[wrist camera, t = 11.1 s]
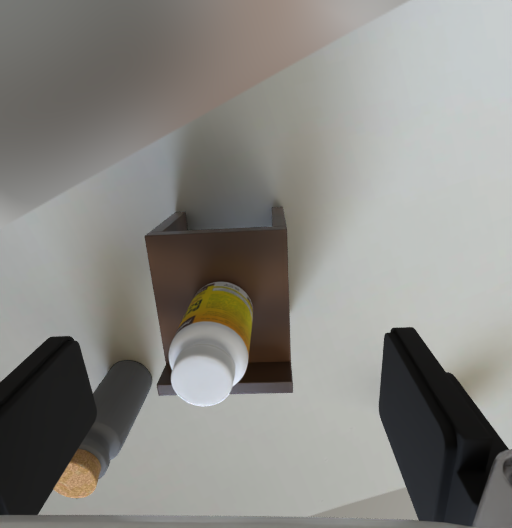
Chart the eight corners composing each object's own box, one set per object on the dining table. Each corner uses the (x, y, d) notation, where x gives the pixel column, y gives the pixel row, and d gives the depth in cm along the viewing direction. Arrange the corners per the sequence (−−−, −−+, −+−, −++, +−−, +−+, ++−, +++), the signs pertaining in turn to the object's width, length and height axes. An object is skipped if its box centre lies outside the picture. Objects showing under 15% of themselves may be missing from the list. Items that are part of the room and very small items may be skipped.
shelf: (175, 212, 39) (130, 245, 27) (282, 206, 39) (288, 239, 26) (190, 323, 44) (158, 395, 32) (286, 320, 43) (292, 393, 31)
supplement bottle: (205, 269, 30) (175, 329, 21) (263, 294, 31) (260, 364, 21) (183, 320, 32) (145, 398, 23) (238, 343, 33) (225, 428, 23)
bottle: (161, 385, 47) (114, 490, 33) (127, 402, 48) (67, 510, 34) (134, 352, 46) (73, 448, 32) (100, 371, 47) (26, 471, 33)
